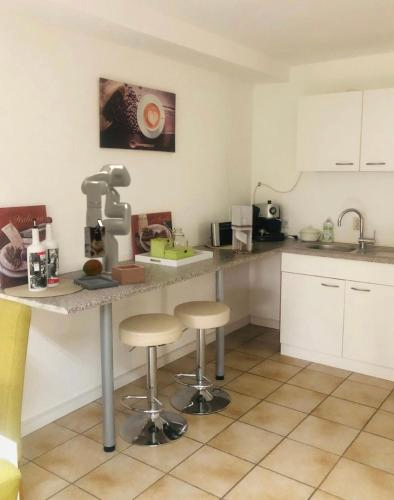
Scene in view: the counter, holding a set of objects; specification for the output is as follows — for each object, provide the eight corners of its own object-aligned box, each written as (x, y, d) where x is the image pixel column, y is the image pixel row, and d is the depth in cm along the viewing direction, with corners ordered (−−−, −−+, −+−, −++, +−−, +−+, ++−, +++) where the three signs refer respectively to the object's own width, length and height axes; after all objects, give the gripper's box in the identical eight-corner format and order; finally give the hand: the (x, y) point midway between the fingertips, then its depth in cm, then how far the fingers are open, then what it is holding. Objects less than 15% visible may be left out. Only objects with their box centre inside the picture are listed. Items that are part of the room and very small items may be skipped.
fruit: (92, 279, 275) (92, 261, 273) (76, 276, 281) (76, 259, 280) (107, 275, 285) (106, 258, 283) (90, 273, 291) (90, 256, 289)
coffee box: (91, 258, 254) (90, 227, 251) (84, 257, 258) (83, 226, 256) (106, 257, 260) (105, 226, 258) (98, 255, 265) (98, 225, 262)
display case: (231, 252, 375) (232, 205, 369) (242, 251, 380) (244, 205, 374) (239, 254, 365) (240, 206, 359) (251, 253, 370) (252, 206, 364)
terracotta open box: (111, 281, 270) (111, 266, 269) (134, 278, 279) (134, 264, 278) (122, 285, 261) (121, 270, 260) (145, 281, 270) (145, 267, 269)
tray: (73, 283, 265) (73, 278, 264) (100, 279, 274) (100, 275, 274) (90, 290, 249) (90, 285, 249) (118, 286, 259) (118, 281, 258)
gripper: (80, 204, 260) (80, 238, 262) (95, 206, 246) (95, 242, 249) (93, 204, 264) (93, 237, 267) (108, 206, 251) (109, 241, 253)
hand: (94, 239), depth 258 cm, fingers closed on coffee box, 7 cm apart
